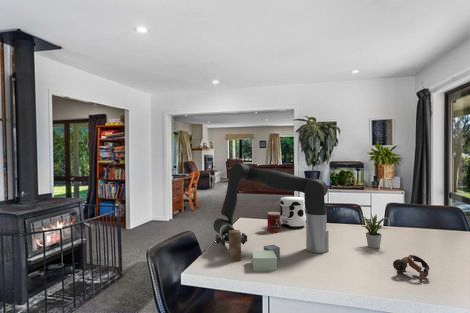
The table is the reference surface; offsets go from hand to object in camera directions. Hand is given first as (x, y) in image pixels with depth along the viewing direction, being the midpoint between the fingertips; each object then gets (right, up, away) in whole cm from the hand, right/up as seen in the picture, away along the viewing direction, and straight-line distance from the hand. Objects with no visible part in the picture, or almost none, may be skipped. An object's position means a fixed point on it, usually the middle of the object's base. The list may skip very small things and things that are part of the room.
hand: (234, 242), depth 123 cm
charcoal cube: (+16, -7, -1) cm, 18 cm away
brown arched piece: (+65, -6, -20) cm, 68 cm away
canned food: (+24, -7, +45) cm, 52 cm away
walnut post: (0, -6, -2) cm, 7 cm away
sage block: (+12, -7, -10) cm, 17 cm away
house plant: (+69, -7, +13) cm, 70 cm away
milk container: (+38, -7, +58) cm, 70 cm away
